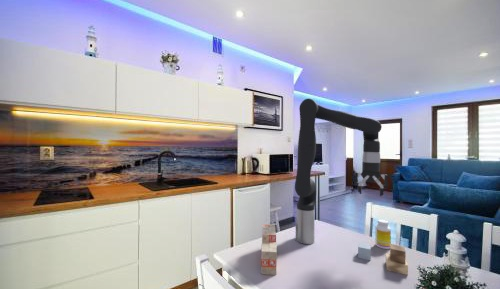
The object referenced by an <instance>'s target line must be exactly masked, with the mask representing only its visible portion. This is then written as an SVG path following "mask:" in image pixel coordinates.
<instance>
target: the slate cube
mask: <svg viewBox="0 0 500 289" xmlns="http://www.w3.org/2000/svg"><path fill="white" fill-rule="evenodd" d="M371 251H372V250H371V244H368V243H362V242H358V245H357V259H363V260H366V261H371V259H372V258H371V256H372V254H371Z"/></svg>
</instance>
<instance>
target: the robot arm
mask: <svg viewBox="0 0 500 289" xmlns="http://www.w3.org/2000/svg"><path fill="white" fill-rule="evenodd" d="M298 110H299V118H300V119H299V121H300V122H299V123H300V125H299V130H298V132H299V133H298V140H297V141H298V142H297V160H296V161H297V164H296V165H297V166H296V174H295V182H294V192H295V193H296V194H297V196H298V200H297V202H296V222H295V241H296V242H299V243H300V244H304V245H311V244H314V243H315V206H316V203H317V202H316V201H317V186H316V183H315V181H314V180H313V178H311V172H312V167H313V164H314V161H315V158H316V152H317V151H316V150H317V138H316V129H315V128H316V127H315V126H316V124H315V123H316V119H318V120H323V121H327V122H330V123H333V124H335V125H339V126H340V127H341V126H342V127H344V128H347V129H350V130H358V131H359V132H360V131H361V132H362V137H363V143H362V144H363V147H362V149H363V150H362V151H363V152H362V159H361V160H362V166H361V167H362V168H361V172H358V171H356V172H354V179H353V180H354V185H356V186H357V187H358V188H357V192H358V193H359V195H361V194H362V188H363V186H362V185H363V184H364V183H365V182H366V183H373V184H375V183H376V184H377V185H378V186H379V187H380V188H379V197H382V196H383V195H384V189H386V188H389V178H388V177H389V175H388V174H381V143H380V141H379V140H380V139H379V133H380V132H381V130H382V124H381V122H380V121H379V120H376V119H375V118H374V119H373V118H370V117H365V116H364V117H363V116H359V115H356V114H353V113H349V112H346V111H341V110H335V109H331V108H326V107H324V106H322V105H320V104H318V103H317V102H316V101H315V100H314V99H313V98H305V99H304V100H302V101H301V102H300V105H299V109H298ZM360 176H361V177H362V179H361V180H360V181H359V182H358V178H359V177H360ZM381 177H382V179H383V180H384V184H383V183H382V182H381V181H380V179H381Z"/></svg>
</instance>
